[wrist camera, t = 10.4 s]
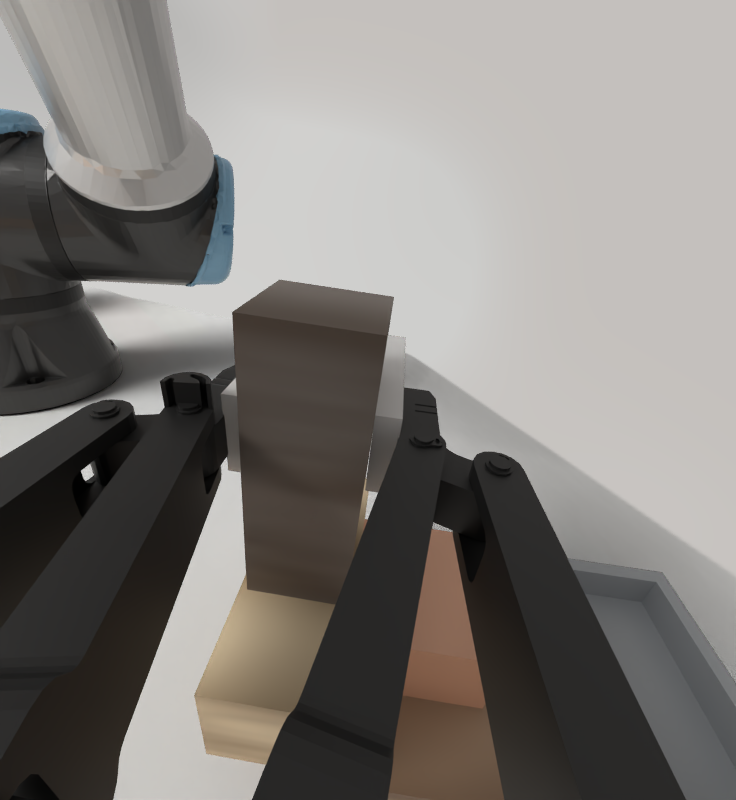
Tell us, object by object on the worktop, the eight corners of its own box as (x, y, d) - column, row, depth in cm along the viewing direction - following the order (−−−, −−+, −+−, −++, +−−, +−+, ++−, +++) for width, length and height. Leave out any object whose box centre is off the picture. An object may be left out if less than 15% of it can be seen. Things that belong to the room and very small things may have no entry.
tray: (490, 574, 25) (500, 548, 24) (643, 597, 25) (662, 572, 24) (549, 849, 15) (572, 828, 13) (816, 894, 14) (865, 878, 13)
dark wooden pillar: (290, 522, 21) (298, 261, 14) (360, 533, 21) (403, 276, 14) (206, 754, 12) (126, 370, 6) (326, 775, 12) (393, 413, 6)
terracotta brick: (357, 563, 21) (363, 519, 20) (464, 579, 21) (480, 536, 19) (340, 685, 16) (346, 639, 14) (482, 708, 16) (506, 664, 14)
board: (326, 549, 25) (328, 517, 24) (475, 571, 25) (486, 540, 24) (268, 801, 15) (266, 771, 13) (522, 844, 15) (548, 819, 13)
